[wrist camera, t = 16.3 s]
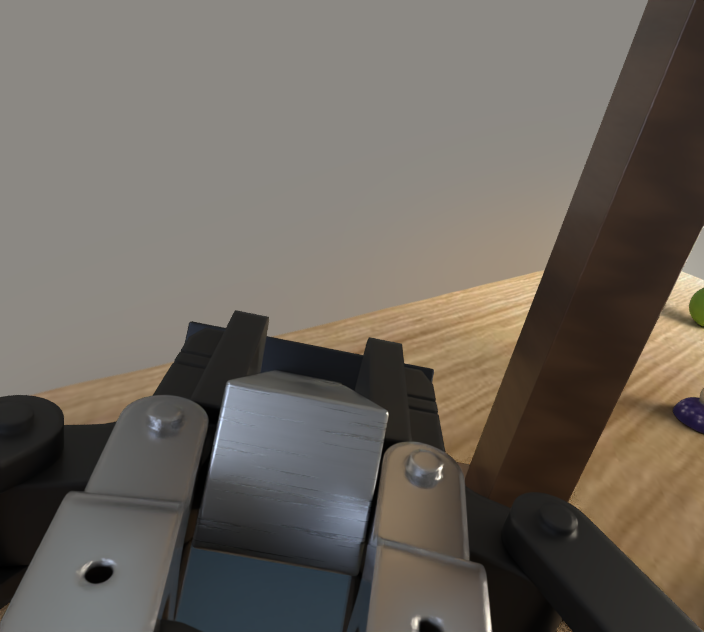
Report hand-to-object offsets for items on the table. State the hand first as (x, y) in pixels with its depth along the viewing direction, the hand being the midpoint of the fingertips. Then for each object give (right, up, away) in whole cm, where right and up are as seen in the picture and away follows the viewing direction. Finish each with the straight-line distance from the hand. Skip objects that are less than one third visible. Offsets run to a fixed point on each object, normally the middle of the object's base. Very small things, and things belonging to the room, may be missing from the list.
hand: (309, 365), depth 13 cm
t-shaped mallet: (-1, -3, +2) cm, 3 cm away
